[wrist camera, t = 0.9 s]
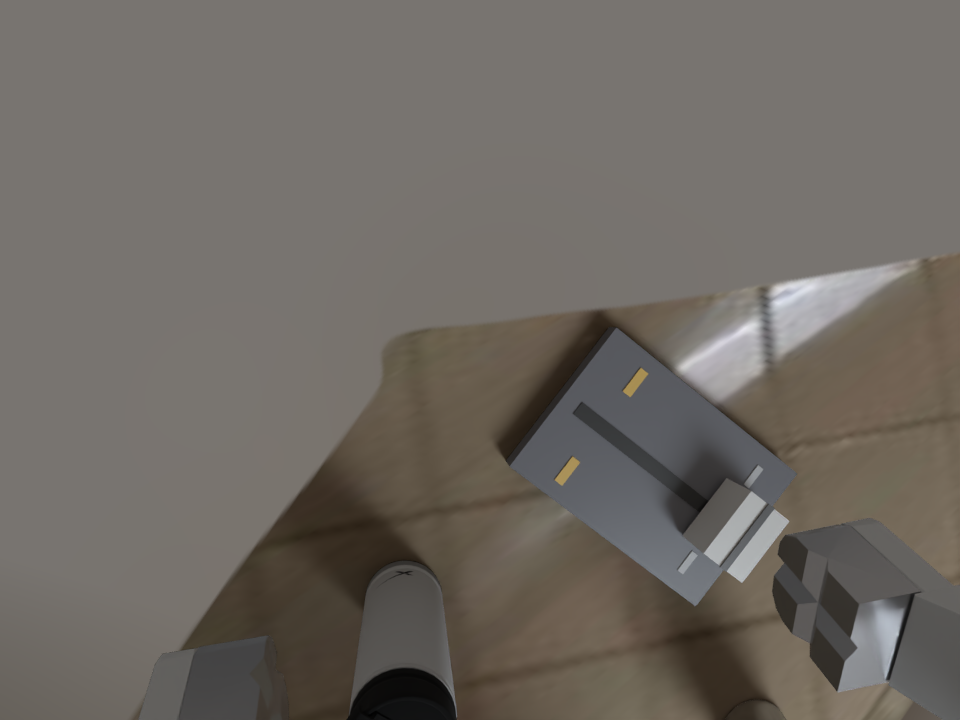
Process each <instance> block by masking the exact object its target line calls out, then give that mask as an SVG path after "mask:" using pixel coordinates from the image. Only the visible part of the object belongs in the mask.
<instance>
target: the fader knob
mask: <svg viewBox="0 0 960 720" xmlns="http://www.w3.org/2000/svg"><path fill="white" fill-rule="evenodd" d="M788 522H789V521H788V520H787V519H786V518H785V517H783V516H782V515H781V514H780V513H778V512H777V511H776V510H775V508H774V507H772V506H771V505H770V504H768V503H766V502H765V501H763V500H762V499H761V498H760V497H758V496H757V495H756V494H755V493H753V492H752V491H750V490H749V489H747V488H745V487H743V486H741V485H739V484H737V483H735V482H733V481H731V480H729V479H728V478H726V479H725V481H724V482H723V483H722V485H721V486H720V487H719V489H718V490H717V491H716V492H715V494H714V495H713V496H712V498H711V499H710V500H709V502H708V503H707V504H706V505H705V507H704V508H703V509H702V511H701V512H700V513H699V515H698V516H697V517H696V519H695V520H694V521H693V522H692V524H691V525H690V526H689V528H688V529H687V530H686V532H685V533H684V534H683V535H682V536H683V537H684V538H685V539H687V540H688V541H689V542H690V543H691V544H693V545H694V546H695V547H696V548H698V549H699V550H700V551H701V552H702V553H704V554H705V555H706V556H708V557H709V558H710V559H711V560H713V561H714V562H715V563H717V564H718V565H719V567H721V568H722V569H723V570H725V571H726V572H728V573H730V574H731V575H732V576H734V577H735V578H736V579H737V580H739V581H740V582H741V583H742V582H743V581H744V580H745V578H746V577H747V576H748V575H749V573H750V572H751V571H752V569H753V568H754V567H755V565H756V564H757V563H758V561H759V560H760V559H761V558H762V556H763V555H764V554H765V552H766V551H767V550H768V548H769V547H770V546H771V545H772V543H773V542H774V541H775V539H776V538H777V537H778V535H779V534H780V533H781V531H782V530H783V529H784V528H785V526H786V525H787V524H788Z"/></svg>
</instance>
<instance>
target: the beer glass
mask: <svg viewBox="0 0 960 720" xmlns="http://www.w3.org/2000/svg"><path fill="white" fill-rule="evenodd" d="M725 720H786V718H785V716H784V715H783V713H782V712H781V711H780V710H779V709H778V708H777V707H776V706H775V705H773V704H772V703H770V702H768V701H765V700H758V699H756V700H749V701H746V702H743V703H741V704H739V705H738V706H736V707H735V708H734V709H733V710H732V711H731V712H730V713H729V714H728V716H727V717H726V719H725Z"/></svg>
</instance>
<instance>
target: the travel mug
mask: <svg viewBox="0 0 960 720" xmlns="http://www.w3.org/2000/svg"><path fill="white" fill-rule="evenodd" d="M347 720H457V711H456V702H455V694H454V686H453V678H452V670H451V662H450V654H449V646H448V638H447V630H446V622H445V614H444V606H443V598H442V590H441V586H440V583H439V581H438V579H437V577H436V576H435V575H434V573H433V572H432V571H431V570H430V569H428V568H427V567H426V566H424V565H422V564H420V563H417V562H413V561H397V562H393V563H390V564H388V565H386V566H384V567H383V568H381V569H380V570H379V571H378V572H377V573H376V574H375V575H374V576H373V577H372V579H371V581H370V583H369V584H368V587H367V591H366V596H365V604H364V611H363V618H362V625H361V632H360V639H359V646H358V653H357V660H356V667H355V674H354V681H353V688H352V695H351V702H350V709H349V717H348V718H347Z"/></svg>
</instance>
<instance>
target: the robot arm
mask: <svg viewBox="0 0 960 720" xmlns="http://www.w3.org/2000/svg"><path fill="white" fill-rule="evenodd" d="M778 555H779V557H780V558H781V559H782V561H783V562H784V564H783V565H782V567H781V568H780V569H779V570H778V571H777V573H776V574H775V575H774V580H773V589H772V593H773V597H774V601H775V605H776V609H777V611H778V613H779V615H780V617H781V619H782V621H783V622H784V624H785V625H786V626H787V628H788V629H789V630H790V632H791V633H792V634H793V635H795V636H797V637H799V638H801V639H803V640H805V641H806V642H808V643H810V658H811V659H812V660H813V661H814V663H815V664H816V665H817V667H818V668H819V669H820V670H821V672H822V673H823V674H824V676H825V677H826V678H827V679H828V681H829V682H830V683H831V684H832V686H833V687H834V688H835V690H836V691H837V692H841V691H846V690H851V689H856V688H861V687H866V686H871V685H876V684H881V683H886V682H889V686H891V687H892V688H894V689H895V690H897V691H899V692H900V693H902V694H903V695H905V696H906V697H908V698H910V699H911V700H913V701H914V702H916V703H917V704H919V705H921V706H922V707H924V708H925V709H927V710H928V711H930V712H932V713H933V714H935V715H936V716H938V717H940V718H941V719H943V720H960V585H956V586H953V585H952V584H951V583H950V582H949V581H948V580H947V579H945V578H944V577H943V576H942V575H941V574H940V573H938V572H937V571H936V570H935V569H934V568H933V567H932V566H930V565H929V564H928V563H927V562H926V561H925V560H924V559H922V558H921V557H920V556H919V555H918V554H917V553H915V552H914V551H913V550H912V549H911V548H910V547H909V546H907V545H906V544H905V543H904V542H903V541H902V540H901V539H899V538H898V537H897V536H896V535H895V534H894V533H892V532H891V531H890V530H889V529H888V528H887V527H886V526H884V525H883V524H882V523H881V522H879V521H877V520H875V519H872V518H867V519H862V520H857V521H852V522H847V523H842V524H841V525H833V526H828V527H823V528H818V529H813V530H808V531H803V532H798V533H793V534H788V535H785V536H784V537H783V539H782V540H781V541H780V544H779V550H778ZM276 659H277V651H276V648H275V645H274V642H273V638H272V637H271V636H269V635H267V636H261V637H255V638H249V639H243V640H237V641H231V642H225V643H220V644H214V645H208V646H202V647H199V648H194V649H188V650H182V651H176V652H170V653H164V654H162V655H161V656H160V658H159V659H158V661H157V662H156V664H155V666H154V669H153V673H152V676H151V679H150V683H149V686H148V689H147V693H146V696H145V699H144V703H143V706H142V709H141V713H140V716H139V719H138V720H289V702H288V696H287V689H286V684H285V680H284V676H283V674H282V673H280V672H278V671H277V670H276Z"/></svg>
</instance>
